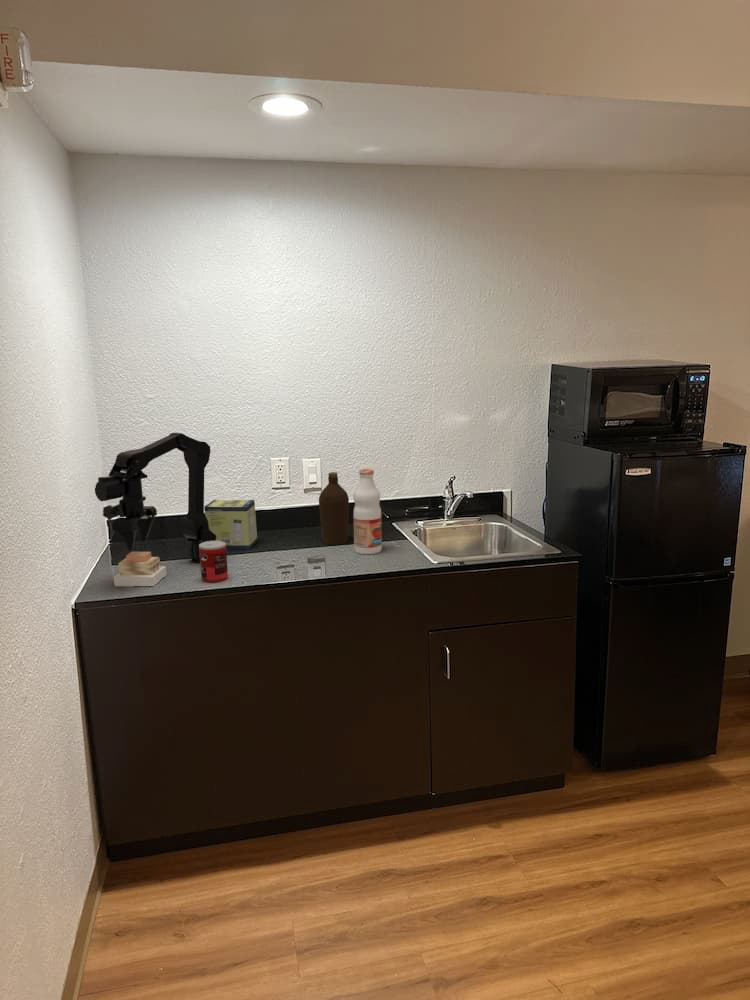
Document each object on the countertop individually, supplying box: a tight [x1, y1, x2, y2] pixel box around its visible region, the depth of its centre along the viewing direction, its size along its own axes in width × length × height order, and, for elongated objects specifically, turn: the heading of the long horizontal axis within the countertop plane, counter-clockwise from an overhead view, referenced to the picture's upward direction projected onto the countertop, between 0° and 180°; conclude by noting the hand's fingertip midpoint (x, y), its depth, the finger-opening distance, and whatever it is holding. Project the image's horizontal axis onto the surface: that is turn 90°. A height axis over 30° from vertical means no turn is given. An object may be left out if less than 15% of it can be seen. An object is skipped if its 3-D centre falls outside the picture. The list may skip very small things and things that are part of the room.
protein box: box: [204, 499, 258, 551], centre depth 241 cm, size 10×16×16 cm
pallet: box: [118, 556, 161, 575], centre depth 206 cm, size 10×6×4 cm, turn 85°
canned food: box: [199, 541, 229, 583], centre depth 207 cm, size 8×8×11 cm
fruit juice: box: [352, 468, 383, 555], centre depth 230 cm, size 9×9×28 cm
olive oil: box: [318, 471, 350, 546], centre depth 242 cm, size 11×11×25 cm
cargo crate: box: [125, 551, 152, 562], centre depth 206 cm, size 6×4×2 cm, turn 85°
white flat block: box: [113, 565, 168, 587], centre depth 207 cm, size 12×10×3 cm
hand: (137, 545), depth 205 cm, fingers open, 9 cm apart
